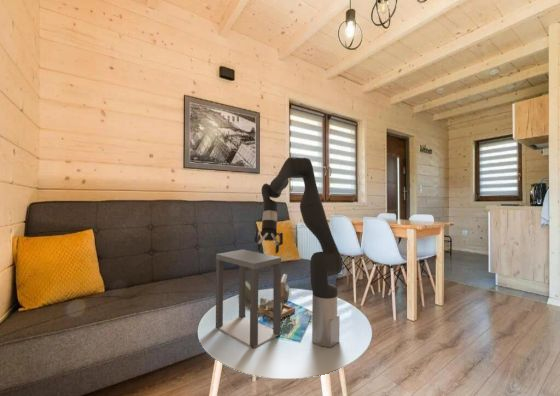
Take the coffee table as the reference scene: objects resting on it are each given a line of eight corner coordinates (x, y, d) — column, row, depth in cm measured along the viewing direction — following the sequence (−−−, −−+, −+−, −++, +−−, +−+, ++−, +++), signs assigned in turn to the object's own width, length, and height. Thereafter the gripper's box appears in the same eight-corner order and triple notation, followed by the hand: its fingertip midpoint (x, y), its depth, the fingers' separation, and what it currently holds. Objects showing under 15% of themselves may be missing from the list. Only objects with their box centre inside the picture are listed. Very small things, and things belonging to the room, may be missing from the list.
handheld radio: (247, 292, 155) (262, 309, 132) (242, 293, 153) (255, 310, 130) (247, 280, 155) (261, 295, 132) (241, 281, 153) (255, 296, 130)
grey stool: (280, 334, 107) (281, 257, 107) (253, 348, 97) (254, 263, 97) (242, 316, 123) (242, 249, 123) (215, 327, 112) (216, 254, 112)
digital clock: (278, 291, 156) (278, 272, 156) (293, 293, 154) (293, 274, 154) (268, 301, 141) (268, 280, 141) (285, 303, 138) (285, 282, 138)
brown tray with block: (295, 313, 128) (295, 282, 128) (278, 320, 119) (278, 288, 119) (272, 304, 137) (272, 276, 137) (256, 311, 129) (256, 281, 129)
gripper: (256, 217, 136) (254, 250, 131) (284, 220, 139) (283, 253, 133) (254, 221, 143) (252, 252, 138) (281, 223, 146) (280, 254, 140)
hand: (267, 252), depth 135 cm, fingers open, 8 cm apart
